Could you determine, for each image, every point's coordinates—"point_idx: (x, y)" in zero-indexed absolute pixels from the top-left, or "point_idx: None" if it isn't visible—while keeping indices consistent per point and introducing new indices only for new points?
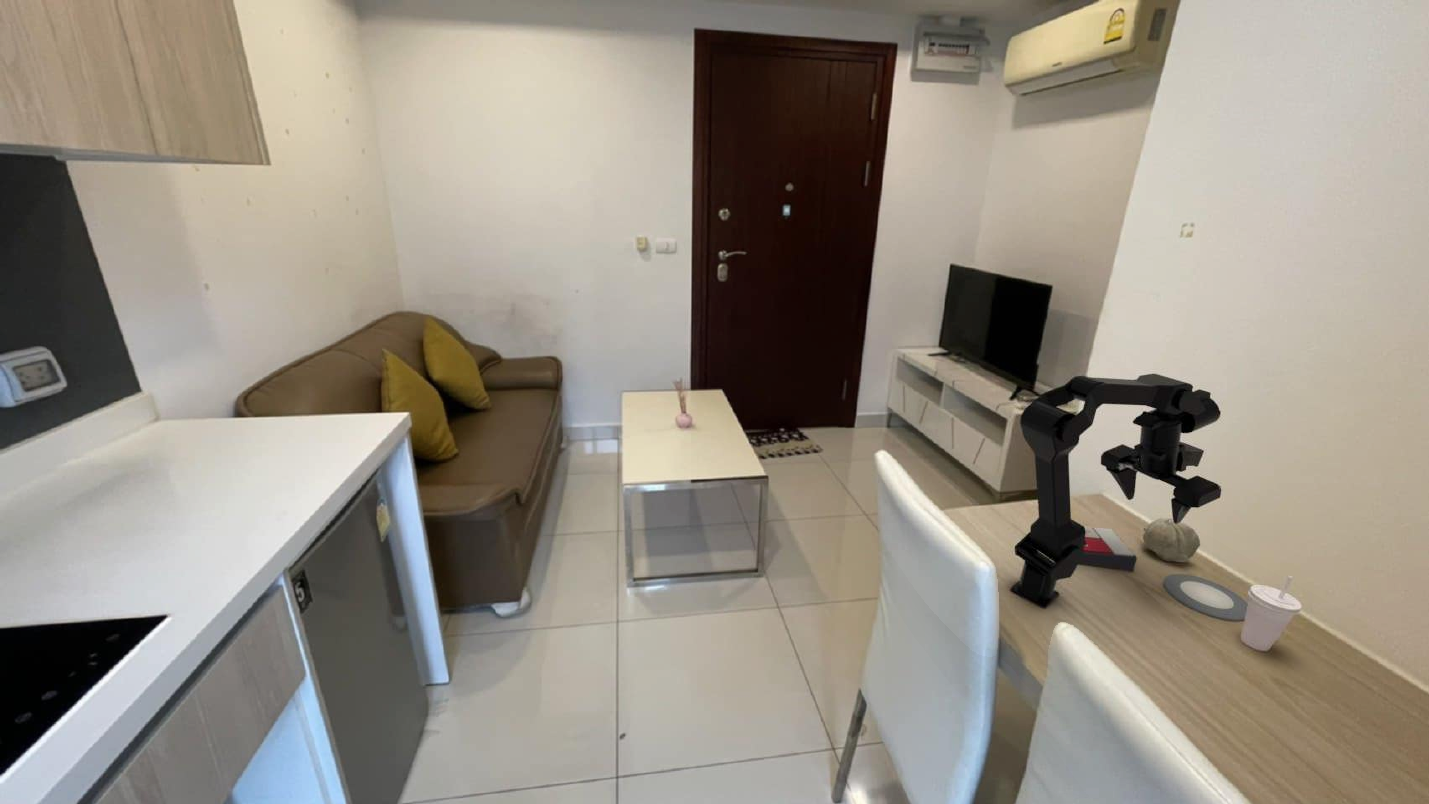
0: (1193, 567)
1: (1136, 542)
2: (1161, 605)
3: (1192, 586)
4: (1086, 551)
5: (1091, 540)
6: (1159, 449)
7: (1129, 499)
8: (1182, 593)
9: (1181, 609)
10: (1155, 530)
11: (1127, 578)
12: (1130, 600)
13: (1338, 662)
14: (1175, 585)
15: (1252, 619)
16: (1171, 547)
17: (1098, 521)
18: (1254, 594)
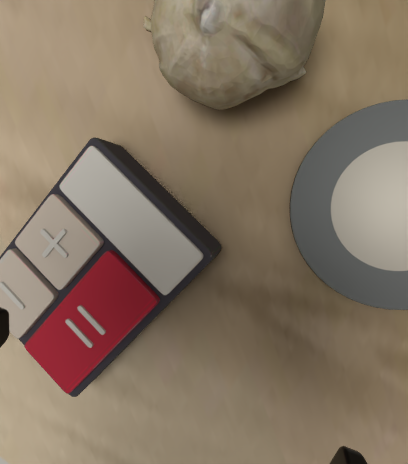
0: (316, 48)
1: None
2: (331, 359)
3: (358, 197)
4: (115, 348)
5: (93, 283)
6: None
7: (4, 340)
8: (351, 264)
9: (371, 333)
10: (187, 79)
11: (227, 300)
12: (274, 403)
13: None
14: (324, 236)
15: None
16: (257, 92)
17: (46, 40)
18: None
